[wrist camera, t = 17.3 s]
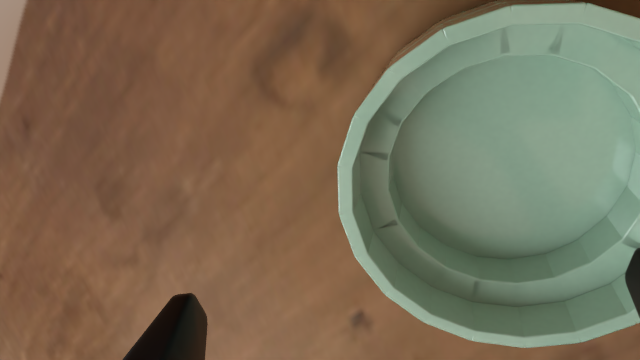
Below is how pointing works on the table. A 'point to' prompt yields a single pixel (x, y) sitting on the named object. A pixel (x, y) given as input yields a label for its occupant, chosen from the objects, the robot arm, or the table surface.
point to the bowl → (503, 173)
